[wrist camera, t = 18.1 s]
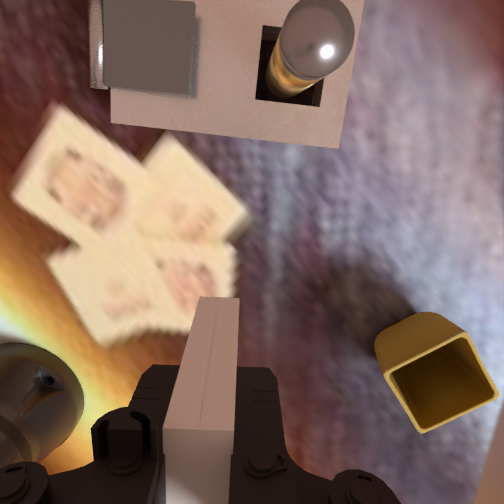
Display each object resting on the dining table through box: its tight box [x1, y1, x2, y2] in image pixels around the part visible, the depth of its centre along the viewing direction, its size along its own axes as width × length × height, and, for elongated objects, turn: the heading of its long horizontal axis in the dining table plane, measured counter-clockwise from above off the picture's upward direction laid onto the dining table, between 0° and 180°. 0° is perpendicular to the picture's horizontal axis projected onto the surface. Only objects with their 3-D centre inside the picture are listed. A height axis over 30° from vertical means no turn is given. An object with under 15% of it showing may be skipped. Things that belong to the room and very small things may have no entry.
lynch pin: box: [265, 0, 355, 99], centre depth 28 cm, size 4×4×16 cm
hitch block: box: [111, 0, 364, 148], centre depth 33 cm, size 20×12×5 cm, turn 84°
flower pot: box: [374, 312, 499, 433], centre depth 40 cm, size 9×9×9 cm
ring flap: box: [88, 0, 196, 96], centre depth 29 cm, size 9×7×1 cm
